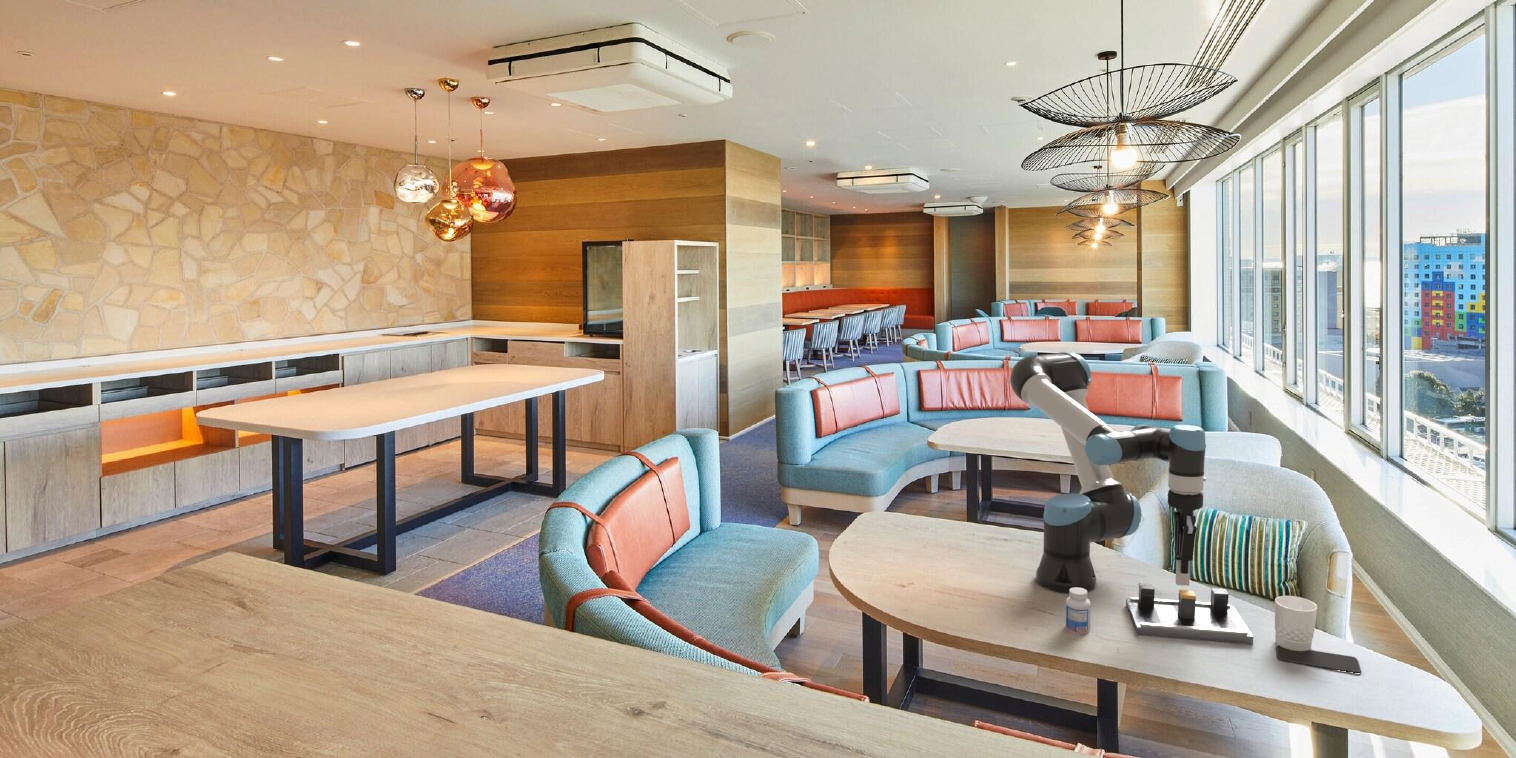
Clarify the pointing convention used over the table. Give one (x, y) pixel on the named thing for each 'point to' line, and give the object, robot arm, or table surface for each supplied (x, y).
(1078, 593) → the pill bottle
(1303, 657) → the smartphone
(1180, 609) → the breaker
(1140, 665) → the table surface
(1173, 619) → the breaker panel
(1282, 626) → the white cup
